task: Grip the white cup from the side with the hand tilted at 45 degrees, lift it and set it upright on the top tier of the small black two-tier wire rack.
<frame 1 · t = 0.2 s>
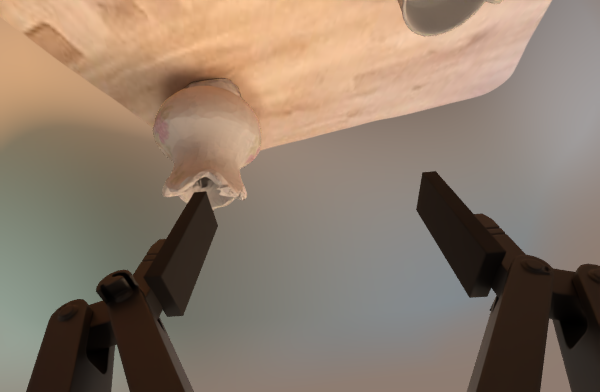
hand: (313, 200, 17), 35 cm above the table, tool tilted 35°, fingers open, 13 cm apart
ceramic pitcher: (214, 103, 57), on the table
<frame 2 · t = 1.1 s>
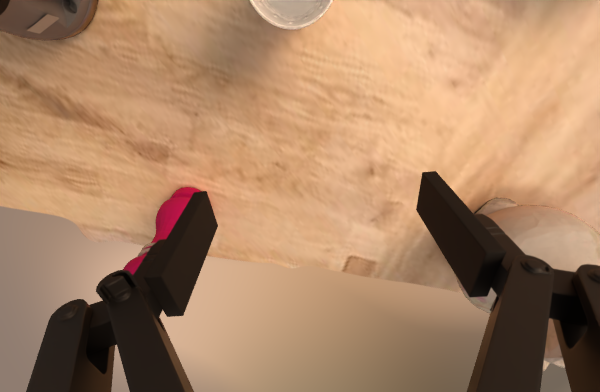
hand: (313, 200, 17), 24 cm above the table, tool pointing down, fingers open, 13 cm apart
ceramic pitcher: (493, 230, 50), on the table
pepper mill: (192, 201, 46), on the table
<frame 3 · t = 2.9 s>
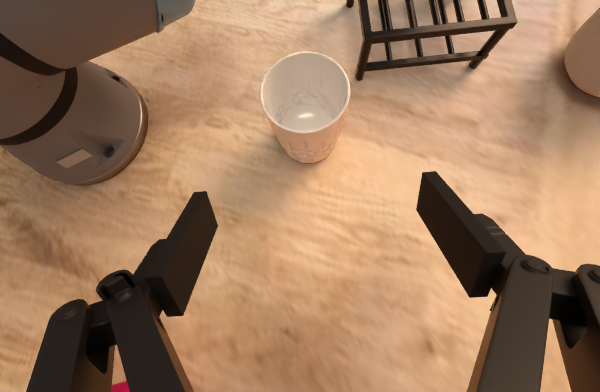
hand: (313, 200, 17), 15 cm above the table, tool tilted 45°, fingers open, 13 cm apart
wire rack: (408, 33, 36), on the table
white cup: (308, 138, 34), on the table
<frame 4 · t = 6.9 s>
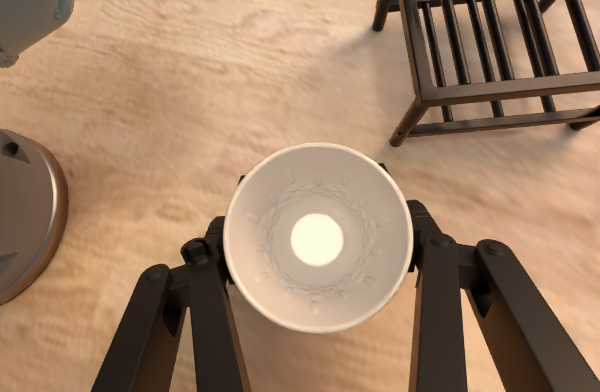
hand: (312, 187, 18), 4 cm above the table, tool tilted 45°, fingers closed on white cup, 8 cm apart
wire rack: (470, 72, 23), on the table
white cup: (317, 241, 21), on the table, touching gripper
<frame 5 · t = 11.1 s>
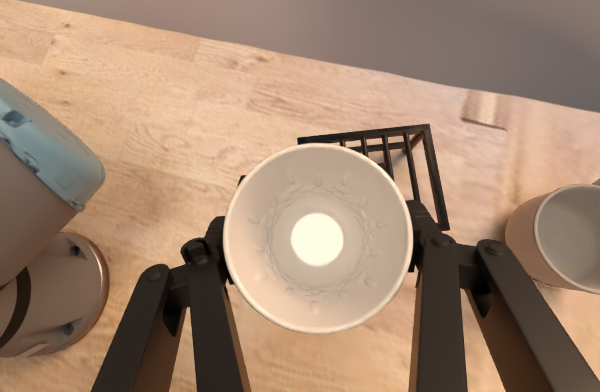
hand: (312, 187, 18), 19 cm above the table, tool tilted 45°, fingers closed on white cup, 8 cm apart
teacup: (542, 232, 35), on the table
wire rack: (360, 194, 37), on the table
white cup: (317, 241, 21), point 15 cm above the table, touching gripper
when the fingers open (11 cm above the table, at t = 15.2 s): white cup stays where it is, resting on wire rack.
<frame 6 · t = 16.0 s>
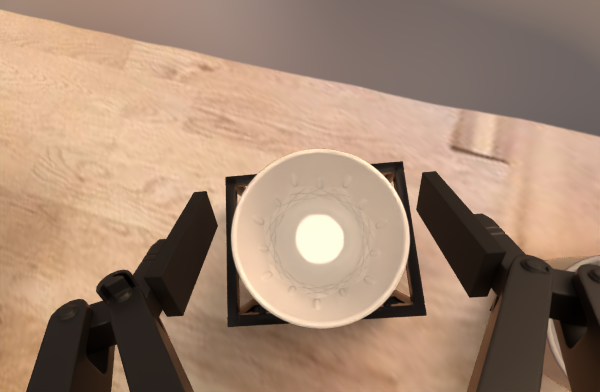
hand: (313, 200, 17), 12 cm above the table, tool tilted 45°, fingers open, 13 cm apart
teacup: (554, 301, 26), on the table
wire rack: (318, 243, 29), on the table
white cup: (318, 242, 22), point 7 cm above the table, touching wire rack
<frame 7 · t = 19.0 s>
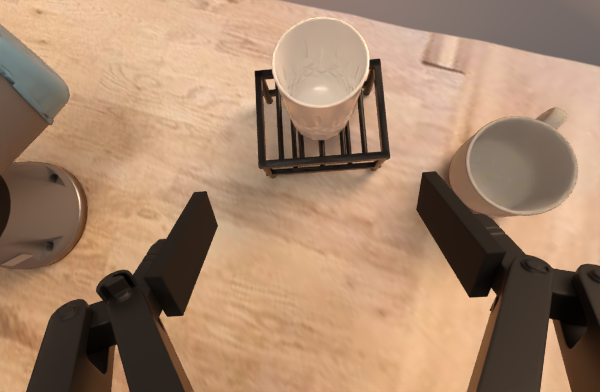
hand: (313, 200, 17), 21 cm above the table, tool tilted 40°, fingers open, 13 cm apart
teacup: (487, 170, 37), on the table
wire rack: (320, 133, 39), on the table
white cup: (320, 113, 32), point 7 cm above the table, touching wire rack
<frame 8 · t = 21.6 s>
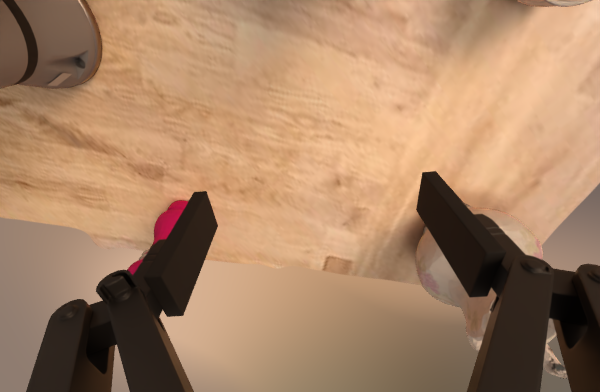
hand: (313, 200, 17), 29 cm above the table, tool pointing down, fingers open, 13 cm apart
ceramic pitcher: (454, 230, 56), on the table
pepper mill: (186, 212, 53), on the table
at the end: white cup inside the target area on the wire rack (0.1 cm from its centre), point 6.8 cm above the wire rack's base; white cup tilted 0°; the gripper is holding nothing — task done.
